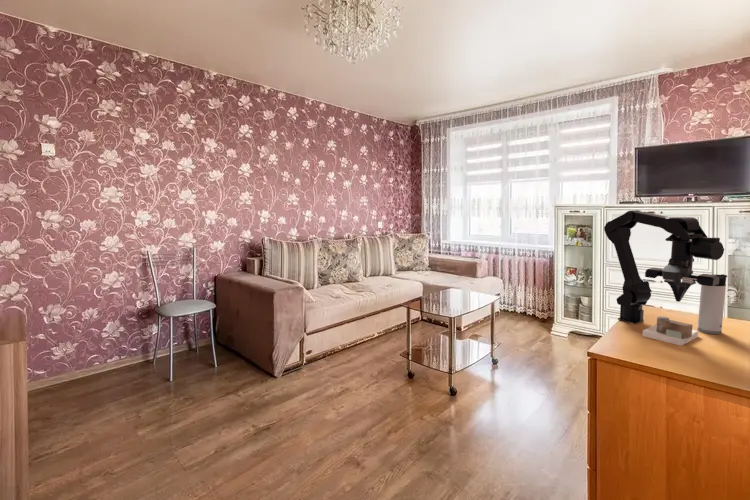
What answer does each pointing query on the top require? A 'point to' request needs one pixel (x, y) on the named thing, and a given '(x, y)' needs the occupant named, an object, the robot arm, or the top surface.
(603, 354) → the top surface
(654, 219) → the robot arm
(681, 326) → the grey knobbed lever
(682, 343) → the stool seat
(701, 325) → the travel mug
